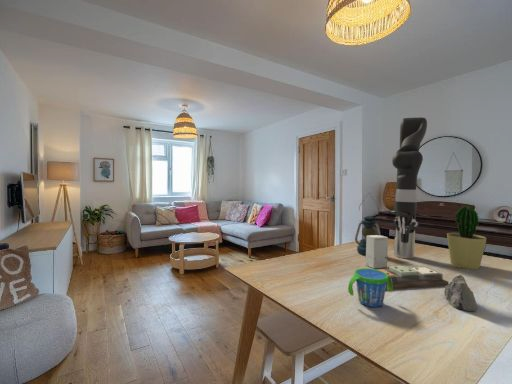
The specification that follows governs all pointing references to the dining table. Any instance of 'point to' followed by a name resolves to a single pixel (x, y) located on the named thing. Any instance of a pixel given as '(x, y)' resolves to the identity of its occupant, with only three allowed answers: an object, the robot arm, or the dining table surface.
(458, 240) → the potted cactus
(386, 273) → the orange flat square block
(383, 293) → the snack cup
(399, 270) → the sage button
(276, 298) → the dining table surface
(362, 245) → the lantern
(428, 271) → the cream button
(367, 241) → the skincare box
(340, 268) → the dining table surface
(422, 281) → the button panel
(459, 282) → the mineral rock
